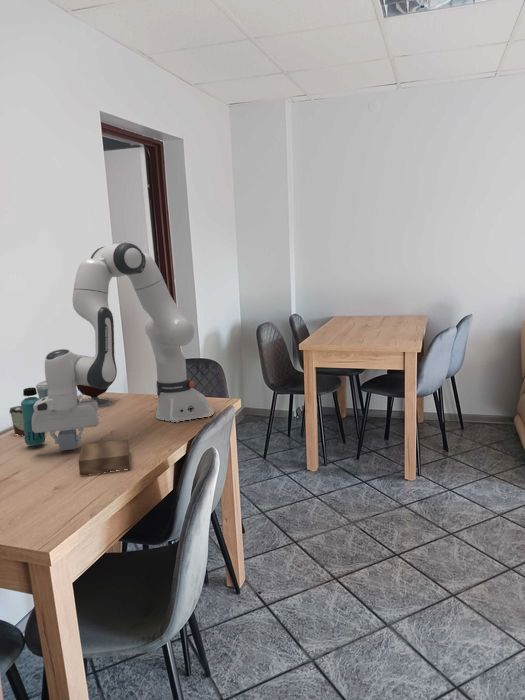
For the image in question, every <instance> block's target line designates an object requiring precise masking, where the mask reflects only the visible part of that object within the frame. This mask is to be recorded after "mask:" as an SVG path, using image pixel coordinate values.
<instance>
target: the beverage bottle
mask: <svg viewBox="0 0 525 700" xmlns="http://www.w3.org/2000/svg"><path fill="white" fill-rule="evenodd" d="M22 392H23V393H22V395H23V397H26V398H23V399H22V401H21V402H20V406H21V407H22V415H23V423H24V429H23V430H24V436H25V437H24V442H25V443H24V444H26V445H27V446H36V445H41V444H44V443H45V441H46V432H41V433H35V432H33V431H32V415H33V413H34V409H33V406H34V404H35V402H36V401H38V400H39V397H37V396H36V395H38V392H37V388H36V387H26V388H23V391H22Z"/></svg>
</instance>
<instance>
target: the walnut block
mask: <svg viewBox="0 0 525 700" xmlns="http://www.w3.org/2000/svg"><path fill="white" fill-rule="evenodd" d="M129 444H130V443H129V439H120V440H119V439H118V440H111V441H103V442H93V443H84V444H81V448H80V453H79V456H78V457H79V458H78V469H79V470H78V471H79V476H80V475H86V476H90V475H89V474H94V475H98V474H97V473H102V474H105V473H104V472H110V471H116V470H124V469H130V470H131V461H130V460H131V458H130V457H131V456H129V454H130V445H129ZM110 473H111V472H110Z"/></svg>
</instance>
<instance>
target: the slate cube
mask: <svg viewBox="0 0 525 700" xmlns="http://www.w3.org/2000/svg"><path fill="white" fill-rule="evenodd" d="M57 434H58V435H57V437H58V441H59V444H58V448H59V451H67V450H76V449H77V447H78V442H79V441H78V442H76V438H75V437H76V435H78V434H77V429H69V430H59V431H58V433H57Z"/></svg>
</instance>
